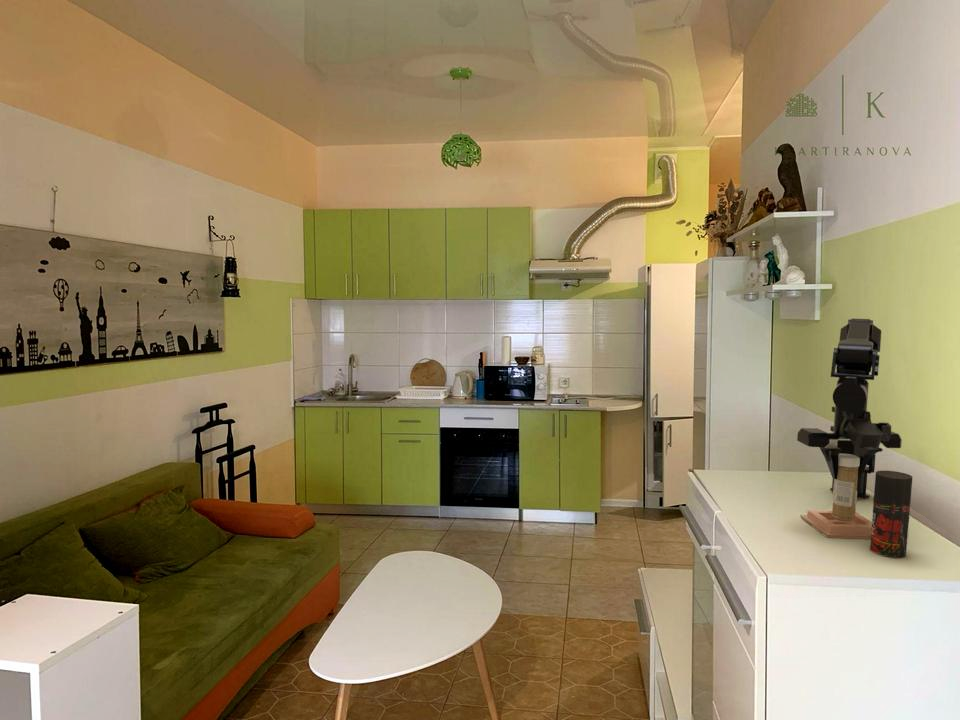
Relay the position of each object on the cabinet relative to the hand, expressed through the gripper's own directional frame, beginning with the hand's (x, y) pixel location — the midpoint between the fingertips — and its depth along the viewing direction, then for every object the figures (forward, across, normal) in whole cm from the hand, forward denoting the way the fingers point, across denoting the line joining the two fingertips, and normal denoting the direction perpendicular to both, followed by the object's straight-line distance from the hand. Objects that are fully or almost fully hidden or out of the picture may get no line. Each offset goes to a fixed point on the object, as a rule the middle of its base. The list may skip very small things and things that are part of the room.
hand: (845, 478), depth 142 cm
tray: (+10, 0, 0) cm, 10 cm away
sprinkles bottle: (+9, 0, 0) cm, 9 cm away
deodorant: (+11, +2, -13) cm, 17 cm away
